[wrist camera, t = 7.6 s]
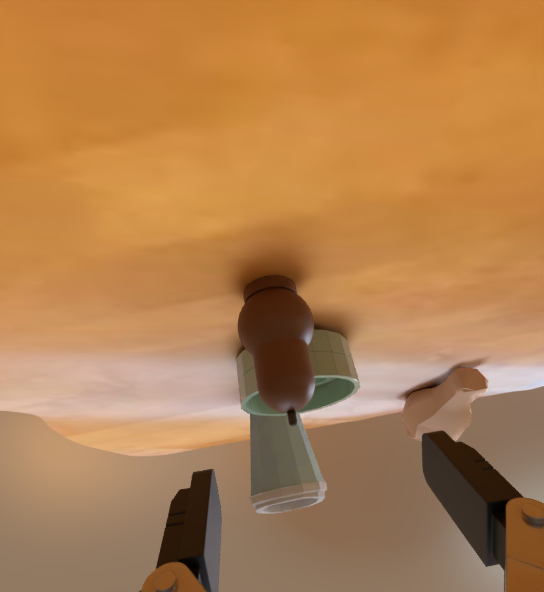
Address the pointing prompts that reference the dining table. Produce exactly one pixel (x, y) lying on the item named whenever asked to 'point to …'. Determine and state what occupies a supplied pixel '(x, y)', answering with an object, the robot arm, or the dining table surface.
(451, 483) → the robot arm
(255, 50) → the dining table surface
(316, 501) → the disposable coffee cup
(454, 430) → the squash
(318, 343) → the bowl
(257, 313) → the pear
